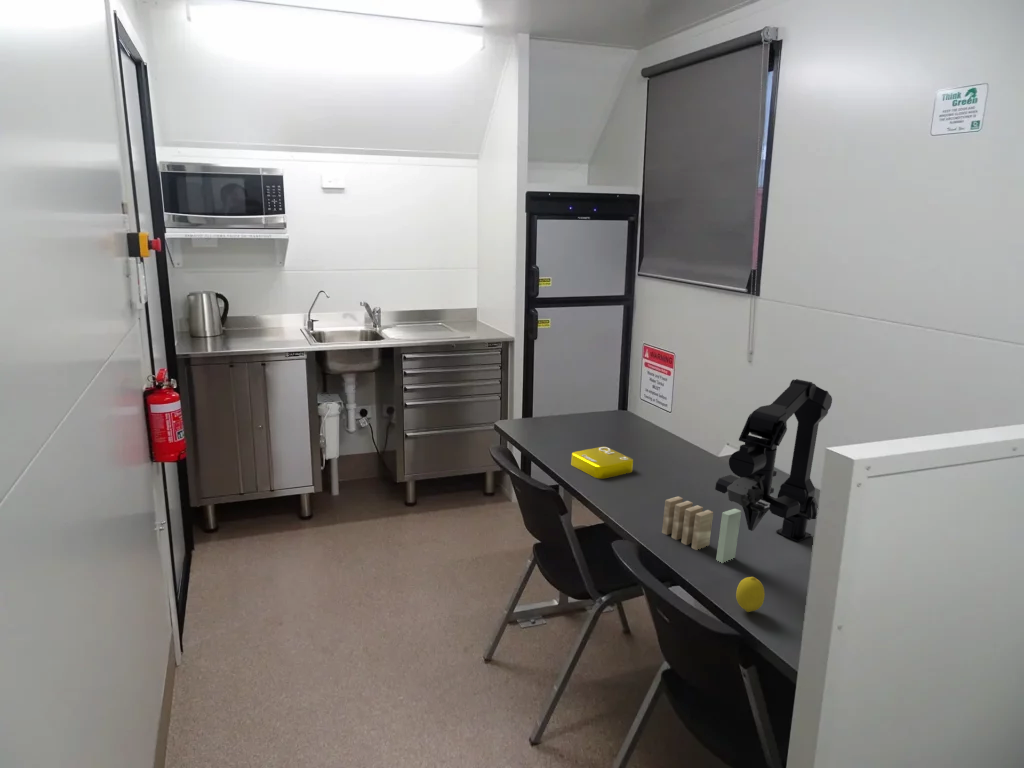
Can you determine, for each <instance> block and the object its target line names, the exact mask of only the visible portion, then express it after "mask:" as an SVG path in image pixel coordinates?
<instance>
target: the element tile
mask: <svg viewBox="0 0 1024 768" xmlns="http://www.w3.org/2000/svg"><path fill="white" fill-rule="evenodd" d="M570 465H571V466H572V467H574V468H576V469H578V470H580V471H582V472H583V473H585V474H587V475H588V476H591V477H593V478H595V479H599V480H602V479H607V478H608V479H609V478H612V477H617V476H622V475H626V473H627V474H631V473H632V472H633V465H634V459H633V458H632V457H630V456H627V455H624V454H623V453H621V452H619V451H616V450H615V449H612V448H610V447H607V446H598V447H594V448H587V449H582V450H577V451H572V453H571V461H570Z"/></svg>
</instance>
